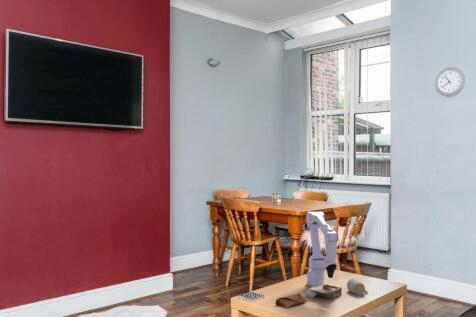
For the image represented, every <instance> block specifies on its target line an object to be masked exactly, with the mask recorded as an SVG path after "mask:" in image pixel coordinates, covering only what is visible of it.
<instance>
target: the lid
mask: <svg viewBox="0 0 476 317" xmlns="http://www.w3.org/2000/svg"><path fill="white" fill-rule="evenodd" d="M329 285H330V284H328V283H324V285H323V286H321V285H319V286H317V287H316V286H314V287H315V288H313V289H311V291H314V292H319V293H323V294H328V295H329V294H330V293H332V292H334V291H336V290H337V289H335V288H330V287H329Z"/></svg>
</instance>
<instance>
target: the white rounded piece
mask: <svg viewBox="0 0 476 317" xmlns="http://www.w3.org/2000/svg"><path fill="white" fill-rule="evenodd" d="M315 287H316V286H311V287H310V288H307V289H306V290H305V296H306V297H308V298H311V299H313V298H315V297H317V296H319V295H318V294H319V292H314V291H311V289H313V288H315Z"/></svg>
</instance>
